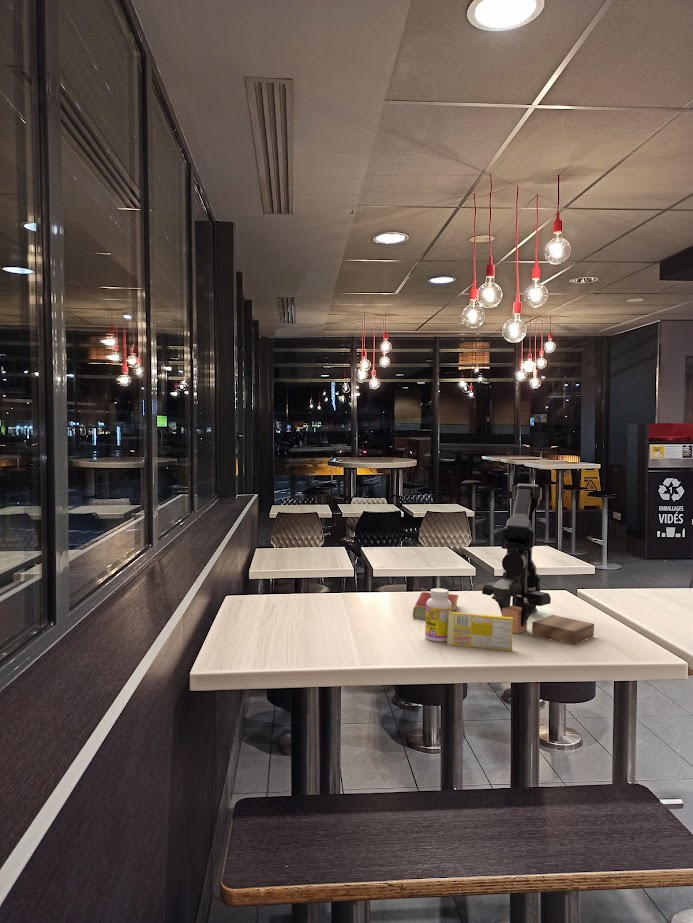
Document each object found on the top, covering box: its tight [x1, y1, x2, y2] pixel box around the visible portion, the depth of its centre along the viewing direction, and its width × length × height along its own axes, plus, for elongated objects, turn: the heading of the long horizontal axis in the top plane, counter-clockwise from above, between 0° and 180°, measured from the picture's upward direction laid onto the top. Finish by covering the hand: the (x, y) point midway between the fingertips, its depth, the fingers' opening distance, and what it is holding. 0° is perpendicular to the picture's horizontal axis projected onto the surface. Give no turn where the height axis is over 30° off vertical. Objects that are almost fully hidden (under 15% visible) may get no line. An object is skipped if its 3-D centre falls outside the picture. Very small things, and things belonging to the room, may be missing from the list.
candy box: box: [446, 611, 513, 652], centre depth 172 cm, size 16×2×8 cm, turn 74°
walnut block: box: [531, 614, 595, 645], centre depth 185 cm, size 12×12×4 cm
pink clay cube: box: [501, 605, 528, 634], centre depth 189 cm, size 5×5×6 cm
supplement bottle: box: [424, 587, 452, 643], centre depth 177 cm, size 7×7×13 cm
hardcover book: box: [412, 591, 459, 620], centre depth 207 cm, size 12×21×4 cm, turn 168°
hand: (514, 624), depth 189 cm, fingers closed on pink clay cube, 5 cm apart
